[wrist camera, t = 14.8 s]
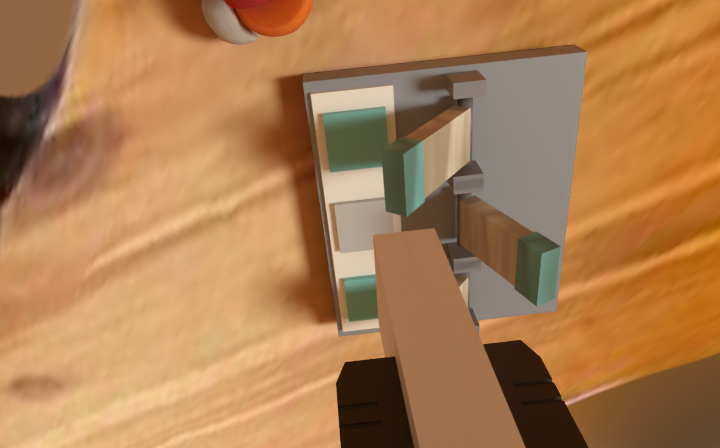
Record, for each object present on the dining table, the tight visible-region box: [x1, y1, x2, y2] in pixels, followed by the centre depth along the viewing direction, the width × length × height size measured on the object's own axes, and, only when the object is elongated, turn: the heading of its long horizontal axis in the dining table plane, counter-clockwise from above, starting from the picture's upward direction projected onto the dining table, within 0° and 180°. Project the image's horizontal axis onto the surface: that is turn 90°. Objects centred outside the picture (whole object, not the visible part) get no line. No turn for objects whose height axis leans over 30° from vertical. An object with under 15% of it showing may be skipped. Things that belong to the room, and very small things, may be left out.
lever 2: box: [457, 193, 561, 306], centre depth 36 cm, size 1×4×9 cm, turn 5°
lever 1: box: [381, 98, 473, 217], centre depth 33 cm, size 1×4×9 cm
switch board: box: [303, 45, 587, 336], centre depth 40 cm, size 18×21×4 cm
